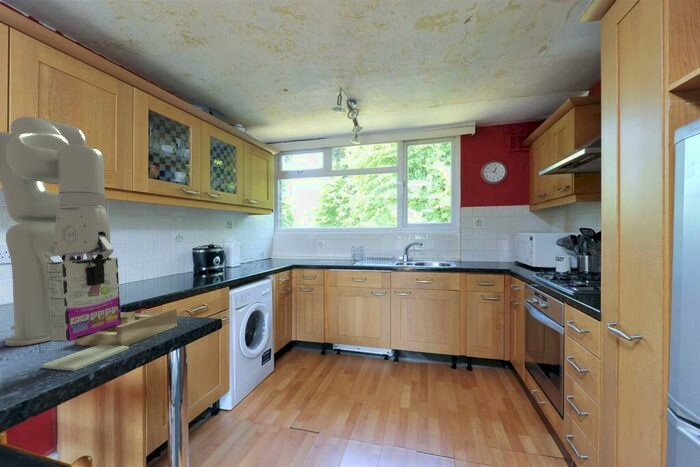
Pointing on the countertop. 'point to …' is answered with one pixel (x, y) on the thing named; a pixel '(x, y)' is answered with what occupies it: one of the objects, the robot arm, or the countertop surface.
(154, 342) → the countertop surface
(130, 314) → the offcut upper
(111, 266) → the candy bar box
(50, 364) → the tile
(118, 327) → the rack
